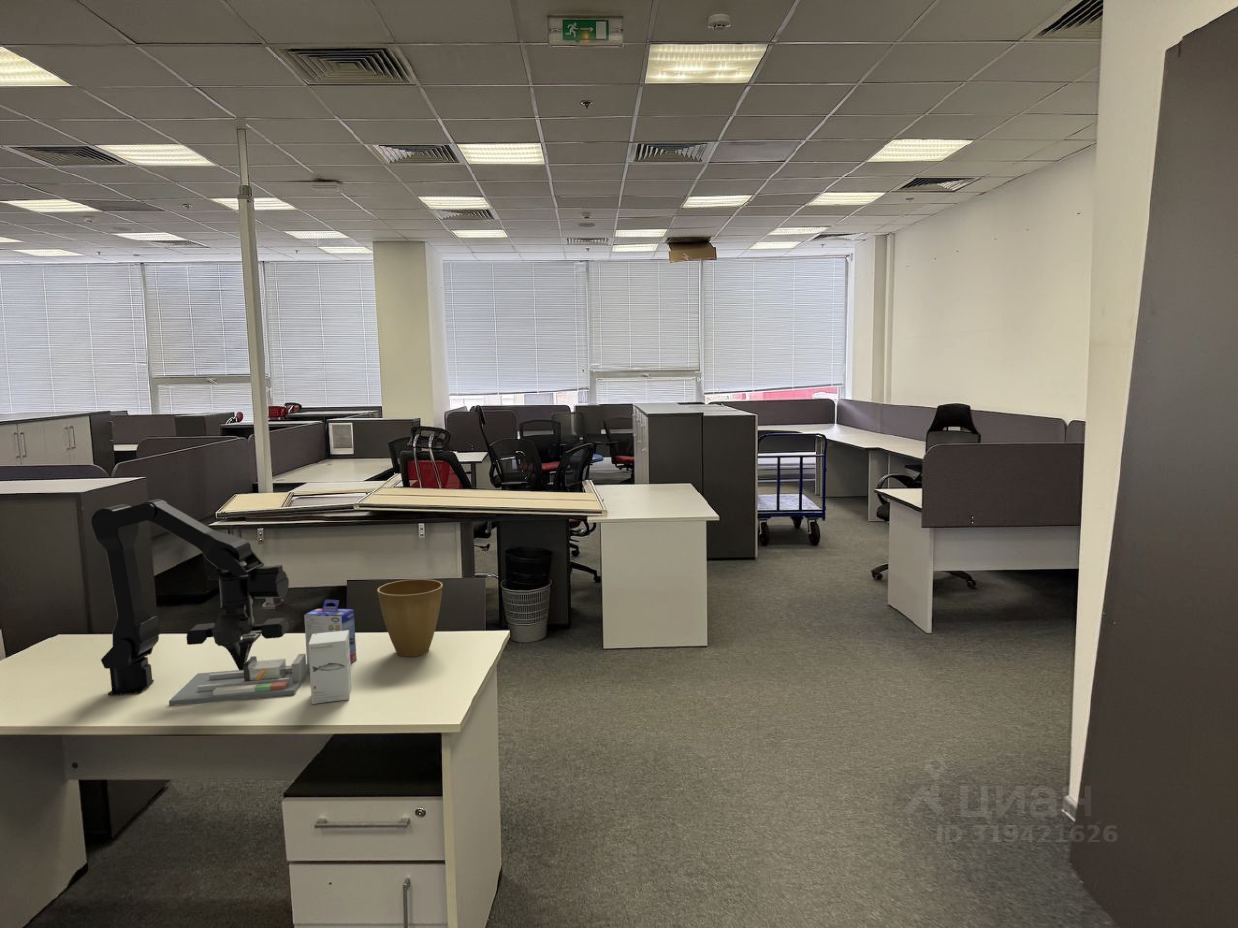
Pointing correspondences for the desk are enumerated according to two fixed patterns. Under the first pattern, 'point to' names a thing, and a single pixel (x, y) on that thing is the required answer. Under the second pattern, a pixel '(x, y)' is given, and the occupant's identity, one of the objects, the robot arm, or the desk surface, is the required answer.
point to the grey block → (264, 669)
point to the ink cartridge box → (331, 624)
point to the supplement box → (330, 666)
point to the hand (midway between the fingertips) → (241, 669)
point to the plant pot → (411, 614)
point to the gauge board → (240, 685)
